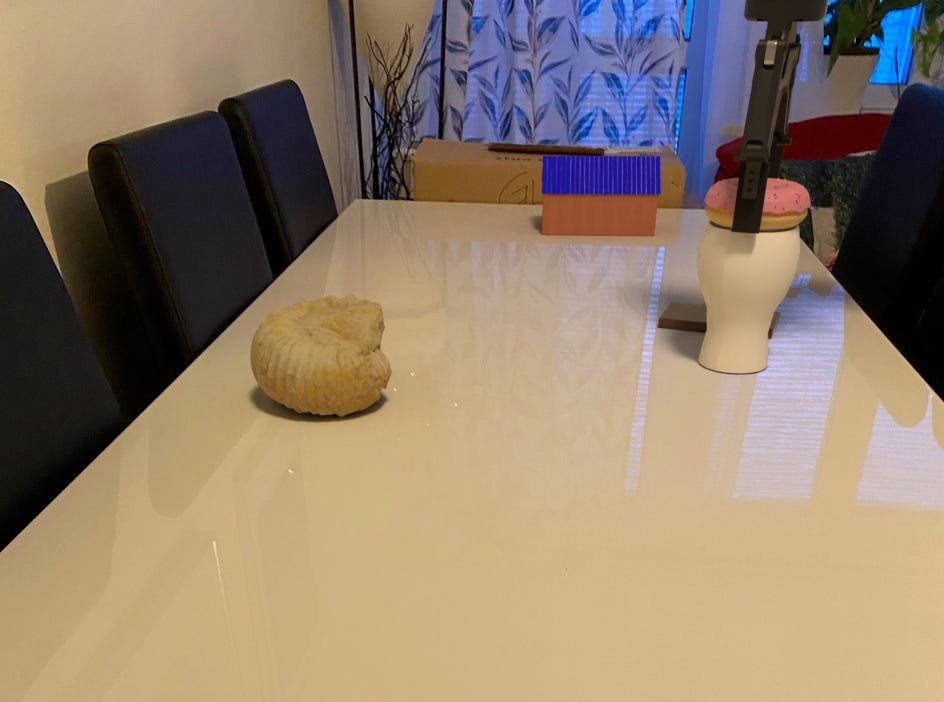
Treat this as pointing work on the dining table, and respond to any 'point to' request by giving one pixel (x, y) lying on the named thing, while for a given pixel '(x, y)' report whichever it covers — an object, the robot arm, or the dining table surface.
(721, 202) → the doughnut
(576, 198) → the house
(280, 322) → the seashell
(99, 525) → the dining table surface
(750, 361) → the cup
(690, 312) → the walnut coaster board
